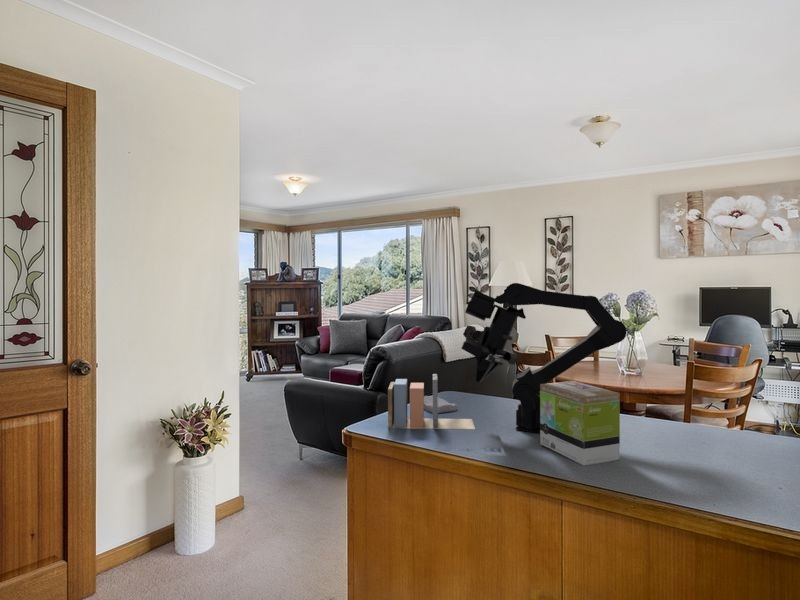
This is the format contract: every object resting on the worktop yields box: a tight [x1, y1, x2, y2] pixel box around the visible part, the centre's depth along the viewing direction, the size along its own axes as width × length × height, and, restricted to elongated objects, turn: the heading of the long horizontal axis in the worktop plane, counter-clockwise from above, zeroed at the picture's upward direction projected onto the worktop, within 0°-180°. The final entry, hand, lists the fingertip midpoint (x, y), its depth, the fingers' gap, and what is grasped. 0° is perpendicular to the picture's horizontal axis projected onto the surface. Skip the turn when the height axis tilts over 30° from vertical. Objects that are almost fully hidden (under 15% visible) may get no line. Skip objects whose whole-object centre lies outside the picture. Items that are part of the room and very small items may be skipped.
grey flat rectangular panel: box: [432, 373, 439, 427], centre depth 132 cm, size 1×9×12 cm, turn 176°
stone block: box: [424, 395, 458, 414], centre depth 150 cm, size 12×5×10 cm
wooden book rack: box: [387, 381, 476, 430], centre depth 132 cm, size 22×10×11 cm, turn 86°
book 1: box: [394, 378, 408, 427], centre depth 133 cm, size 3×8×11 cm, turn 176°
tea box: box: [539, 380, 621, 467], centre depth 112 cm, size 15×10×15 cm, turn 21°
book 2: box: [409, 382, 425, 427], centre depth 132 cm, size 4×8×10 cm, turn 176°
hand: (478, 382), depth 133 cm, fingers closed
